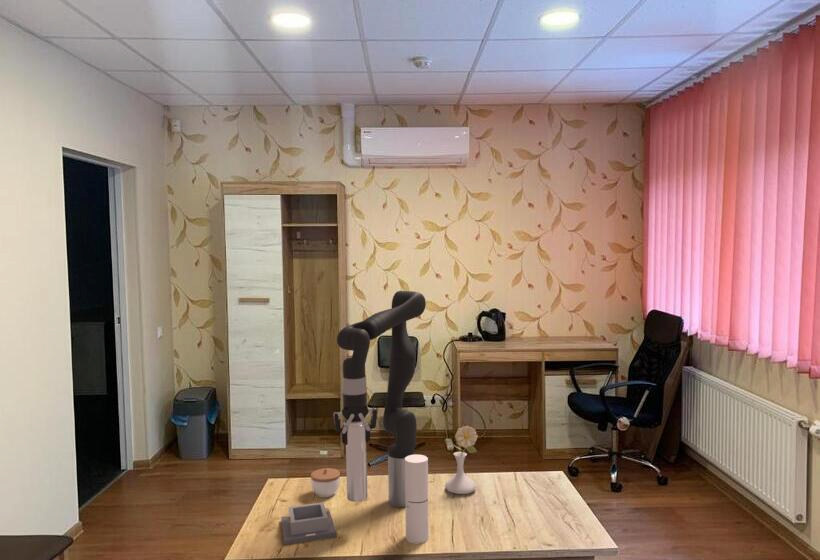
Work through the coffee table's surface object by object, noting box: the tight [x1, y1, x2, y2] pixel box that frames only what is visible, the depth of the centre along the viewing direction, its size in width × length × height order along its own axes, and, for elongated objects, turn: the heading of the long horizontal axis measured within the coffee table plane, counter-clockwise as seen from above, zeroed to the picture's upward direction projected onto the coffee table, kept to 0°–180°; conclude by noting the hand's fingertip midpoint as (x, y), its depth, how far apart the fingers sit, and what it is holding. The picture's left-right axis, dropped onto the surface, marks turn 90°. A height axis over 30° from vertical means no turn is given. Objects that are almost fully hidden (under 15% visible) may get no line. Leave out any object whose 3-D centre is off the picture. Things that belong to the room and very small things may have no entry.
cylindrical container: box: [404, 454, 430, 544], centre depth 174 cm, size 7×7×25 cm
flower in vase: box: [444, 425, 479, 495], centre depth 209 cm, size 13×11×25 cm
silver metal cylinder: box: [345, 421, 368, 503], centre depth 179 cm, size 6×6×25 cm
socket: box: [280, 502, 337, 546], centre depth 181 cm, size 16×16×6 cm
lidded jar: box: [310, 467, 341, 499], centre depth 208 cm, size 11×11×9 cm
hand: (355, 442), depth 179 cm, fingers closed on silver metal cylinder, 6 cm apart
